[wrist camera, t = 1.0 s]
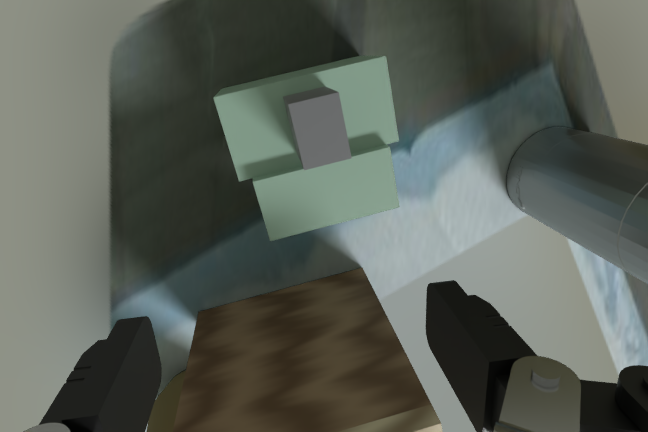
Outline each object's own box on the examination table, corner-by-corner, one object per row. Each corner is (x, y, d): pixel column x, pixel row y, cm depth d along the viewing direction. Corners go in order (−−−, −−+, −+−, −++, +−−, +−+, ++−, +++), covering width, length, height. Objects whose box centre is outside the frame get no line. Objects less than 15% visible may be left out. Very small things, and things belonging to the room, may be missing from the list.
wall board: (362, 267, 44) (441, 423, 25) (373, 322, 46) (452, 500, 28) (198, 311, 43) (156, 508, 24) (219, 366, 45) (196, 580, 27)
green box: (359, 55, 37) (410, 56, 25) (379, 173, 41) (432, 223, 29) (221, 88, 36) (205, 105, 24) (256, 205, 40) (257, 270, 28)
